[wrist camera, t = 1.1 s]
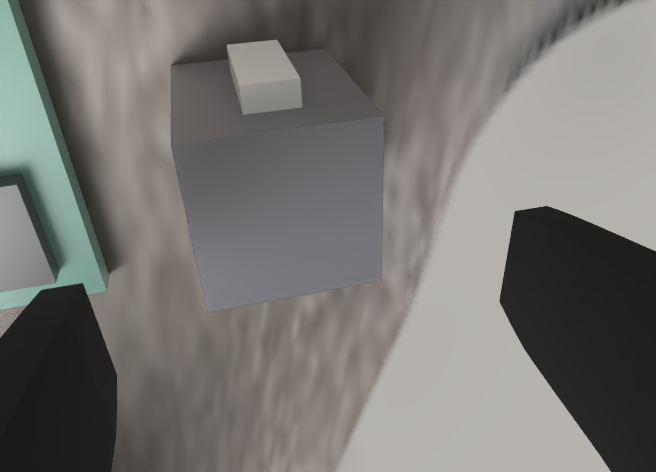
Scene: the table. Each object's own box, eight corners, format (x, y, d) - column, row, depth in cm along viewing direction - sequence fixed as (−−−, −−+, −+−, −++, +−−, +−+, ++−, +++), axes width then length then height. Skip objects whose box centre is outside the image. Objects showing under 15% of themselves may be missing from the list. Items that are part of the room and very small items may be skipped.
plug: (331, 181, 17) (382, 280, 13) (198, 201, 16) (207, 312, 12) (324, 24, 14) (384, 85, 10) (166, 40, 14) (163, 112, 10)
